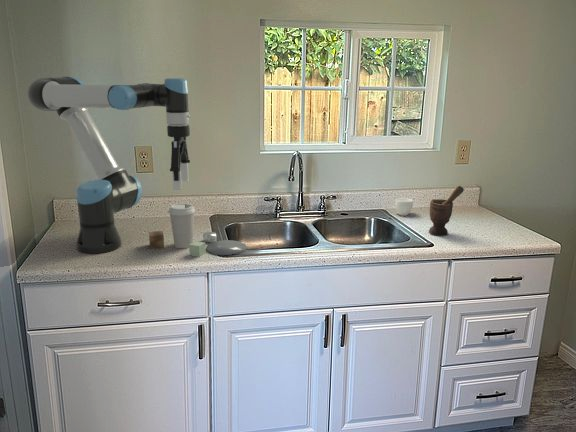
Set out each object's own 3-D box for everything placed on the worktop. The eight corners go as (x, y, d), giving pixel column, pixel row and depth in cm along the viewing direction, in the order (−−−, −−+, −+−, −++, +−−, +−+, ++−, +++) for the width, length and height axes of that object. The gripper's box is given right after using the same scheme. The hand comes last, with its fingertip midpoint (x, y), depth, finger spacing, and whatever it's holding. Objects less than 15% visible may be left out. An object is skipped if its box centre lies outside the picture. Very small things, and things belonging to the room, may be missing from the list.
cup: (396, 216, 234) (397, 201, 232) (391, 210, 243) (392, 196, 241) (413, 216, 234) (414, 202, 232) (408, 210, 243) (409, 196, 241)
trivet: (204, 255, 185) (204, 253, 185) (209, 242, 198) (209, 240, 198) (244, 255, 185) (244, 253, 185) (247, 242, 198) (247, 240, 198)
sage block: (189, 255, 185) (189, 244, 184) (195, 251, 188) (195, 241, 187) (199, 257, 183) (199, 246, 182) (205, 253, 187) (205, 242, 186)
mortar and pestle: (452, 230, 216) (458, 182, 210) (460, 236, 208) (466, 187, 202) (424, 230, 216) (429, 182, 210) (431, 237, 207) (436, 187, 202)
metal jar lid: (202, 243, 197) (202, 236, 196) (204, 239, 202) (204, 231, 201) (215, 243, 197) (215, 236, 196) (217, 239, 202) (217, 231, 201)
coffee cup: (191, 250, 189) (189, 210, 185) (165, 248, 191) (163, 208, 186) (200, 242, 198) (199, 203, 194) (176, 240, 200) (174, 201, 195)
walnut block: (150, 249, 190) (149, 236, 189) (149, 244, 195) (148, 231, 194) (164, 248, 192) (163, 235, 190) (163, 243, 196) (162, 230, 195)
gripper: (182, 129, 170) (185, 193, 176) (195, 120, 194) (197, 177, 200) (159, 129, 170) (162, 193, 176) (174, 120, 194) (177, 177, 200)
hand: (181, 185), depth 188 cm, fingers open, 13 cm apart
